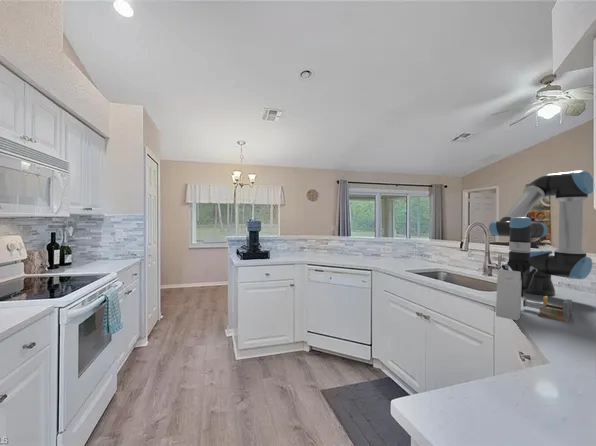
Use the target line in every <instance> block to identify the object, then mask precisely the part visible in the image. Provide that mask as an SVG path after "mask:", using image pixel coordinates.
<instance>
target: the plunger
mask: <svg viewBox="0 0 596 446" xmlns="http://www.w3.org/2000/svg"><path fill="white" fill-rule="evenodd" d="M548 296H549V295H543V300H542V301H541V302H540V301H534V300H530V299H529V300H528V299H527V298H524V299H523V300H522V301H523V302H522V306H523V307H524V308H525V307H527V308H532V309H537V310H539V311H540V306H545V307H548V304H549V302H548Z"/></svg>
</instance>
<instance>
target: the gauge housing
mask: <svg viewBox="0 0 596 446" xmlns="http://www.w3.org/2000/svg"><path fill="white" fill-rule="evenodd" d="M572 307H573V300H572V299H569V298H568V299H567V298H566V299H565V300H564V301H562V305H561V306H560V305H557V304H550V303H548V307H545V306H540V310H539V312H538V314H537V316H538V317H543V318H547V319H551V320H556V321H561V322H564V323H566V322H567V323H568V321H569V320H570V319H572V317H573V311H572V309H573V308H572Z"/></svg>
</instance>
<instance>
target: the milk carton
mask: <svg viewBox="0 0 596 446" xmlns="http://www.w3.org/2000/svg"><path fill="white" fill-rule="evenodd" d="M521 284H522V280H521V272H519V271H513V270H510V269H509V270H503V268H502V269H501V268H499V269H498V274H497V278H496V301H495V302H496V303H495V305H496V306H495V316H496V317H498V318H504V319H508V320H513V321H518V320H520V319H521V318H520V317H521V315H522V314H521V312H522V311H521V310H522V297H521Z"/></svg>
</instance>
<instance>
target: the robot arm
mask: <svg viewBox="0 0 596 446" xmlns="http://www.w3.org/2000/svg"><path fill="white" fill-rule="evenodd" d="M593 181H594V178H593V176H592V174H591V173H590V172H589V171H587V170H572V171H564V172H556V173H548V174H544V175H541V176H539V177H538V178H535V179H534V180H533V181H531V182H529V184H527V185H526V187H524V188H523V191H522V194H521V195H520V197H518V199H517V200H516V201H515V202H514V203H513V205H512V206H511V207H510V208H509V210H507V212H506V213H504V215H503V216H502V218H500V220H496V221H491V222H490V223H489V225H488V231H489V233H490V234H491V235H492V236H497V237H509V241H508V243H509V245H508V250H509V252H508V261H507V262H506V263H505V264H502V265H501V268H502V270H510V269H511V271H519V272H521V280H522V284H521V298H524V297H525V293H529V294H534V295H542V296H554V295H556V289H555V285H554V284H553V281H552V276H554V277H559V278H561V277H562V278H568V279H572V280H585V279H586V278H588V276H589V275H590V273H591V271H592V269H593V260H592V258H591V257H589V256H587V252H586V251H585V249H583V228H584V227H583V226H584V225H583V224H584V223H583V222H584V201H585V200H587V199H588V196H589V195H590V194H592V193H593V192H594V191H593V190H594V189H593ZM549 196H550V197H551V196H552V197H553V196H555V200H556V201H558V203H559V208H558V209H559V210H558V212H559V213H558V248H556V249H555V250H554V251H552V250H531V245H532V244H531V240H532V239H540V238H544V237H546V236H547V234H548V232H549V231H548V230H549V229H548V227H547V225H546V224H545V223H543V222H540V221H532V219H531V218H530V217H526V216H527V215H528V213H530V211H531V210H532V209H533V207H534V206H535V205H536V204H537V203H538V202H539V201H542V200H543V199H544V198H545V197H549Z"/></svg>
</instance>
